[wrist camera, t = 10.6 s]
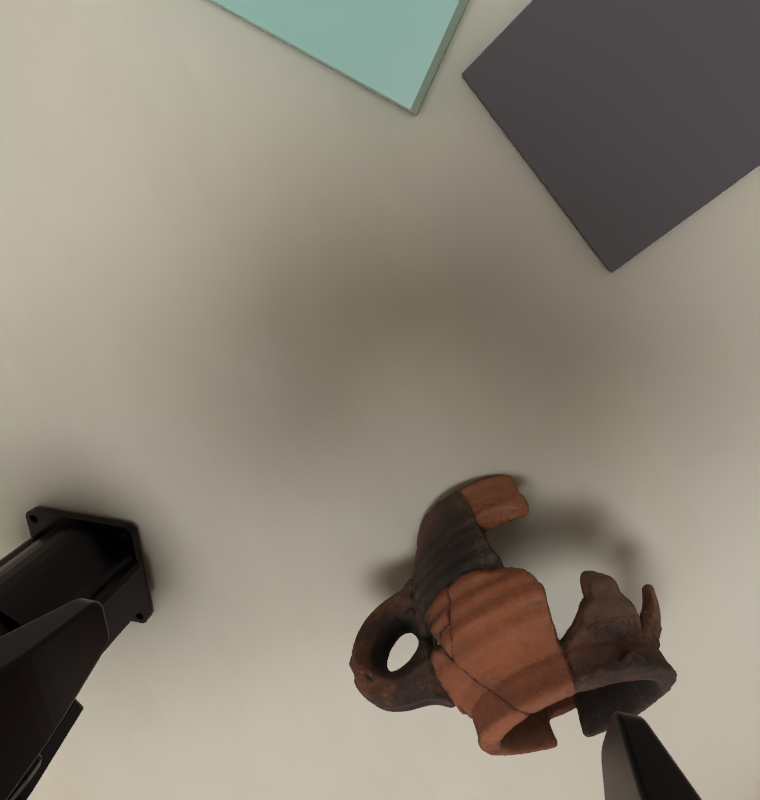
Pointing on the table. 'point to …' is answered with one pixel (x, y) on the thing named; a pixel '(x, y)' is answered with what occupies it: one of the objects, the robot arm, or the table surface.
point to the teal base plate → (364, 38)
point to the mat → (628, 108)
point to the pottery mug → (507, 636)
